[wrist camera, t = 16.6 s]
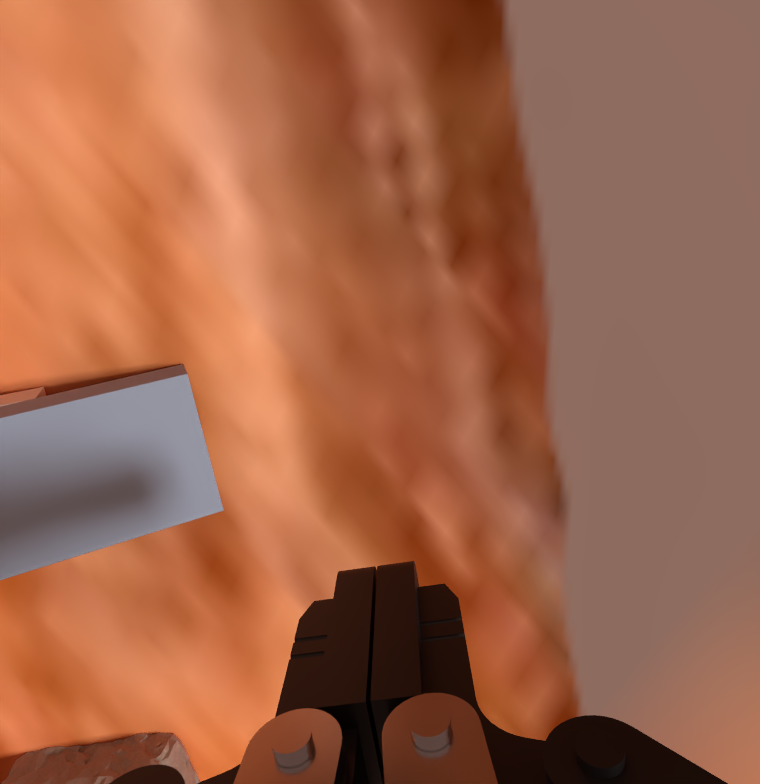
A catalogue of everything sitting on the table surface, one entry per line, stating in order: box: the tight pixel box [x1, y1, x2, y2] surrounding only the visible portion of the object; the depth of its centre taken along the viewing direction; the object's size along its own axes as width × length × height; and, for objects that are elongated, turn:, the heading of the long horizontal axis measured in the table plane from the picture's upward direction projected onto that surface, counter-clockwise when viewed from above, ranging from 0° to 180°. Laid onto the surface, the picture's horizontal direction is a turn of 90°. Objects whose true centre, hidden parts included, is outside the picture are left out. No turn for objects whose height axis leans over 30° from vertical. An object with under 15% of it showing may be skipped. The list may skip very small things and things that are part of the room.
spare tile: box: [0, 364, 223, 580], centre depth 20 cm, size 5×2×10 cm
